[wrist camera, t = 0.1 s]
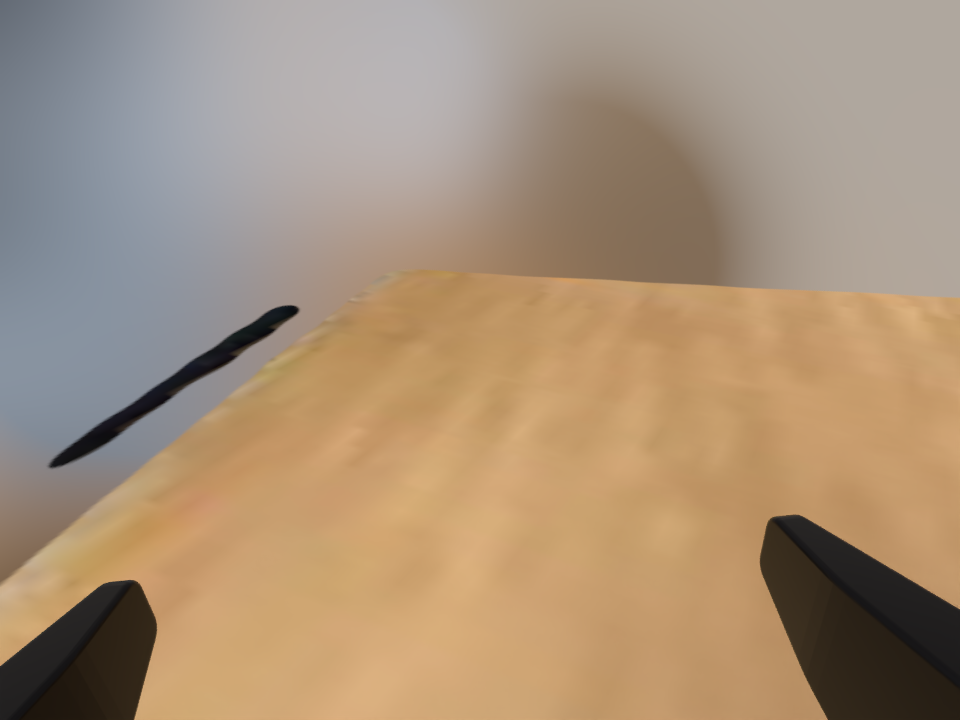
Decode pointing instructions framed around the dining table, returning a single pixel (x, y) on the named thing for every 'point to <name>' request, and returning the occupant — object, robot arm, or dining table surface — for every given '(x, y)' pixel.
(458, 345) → the dining table surface
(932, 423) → the dining table surface
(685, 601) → the dining table surface
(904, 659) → the robot arm
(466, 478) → the dining table surface
